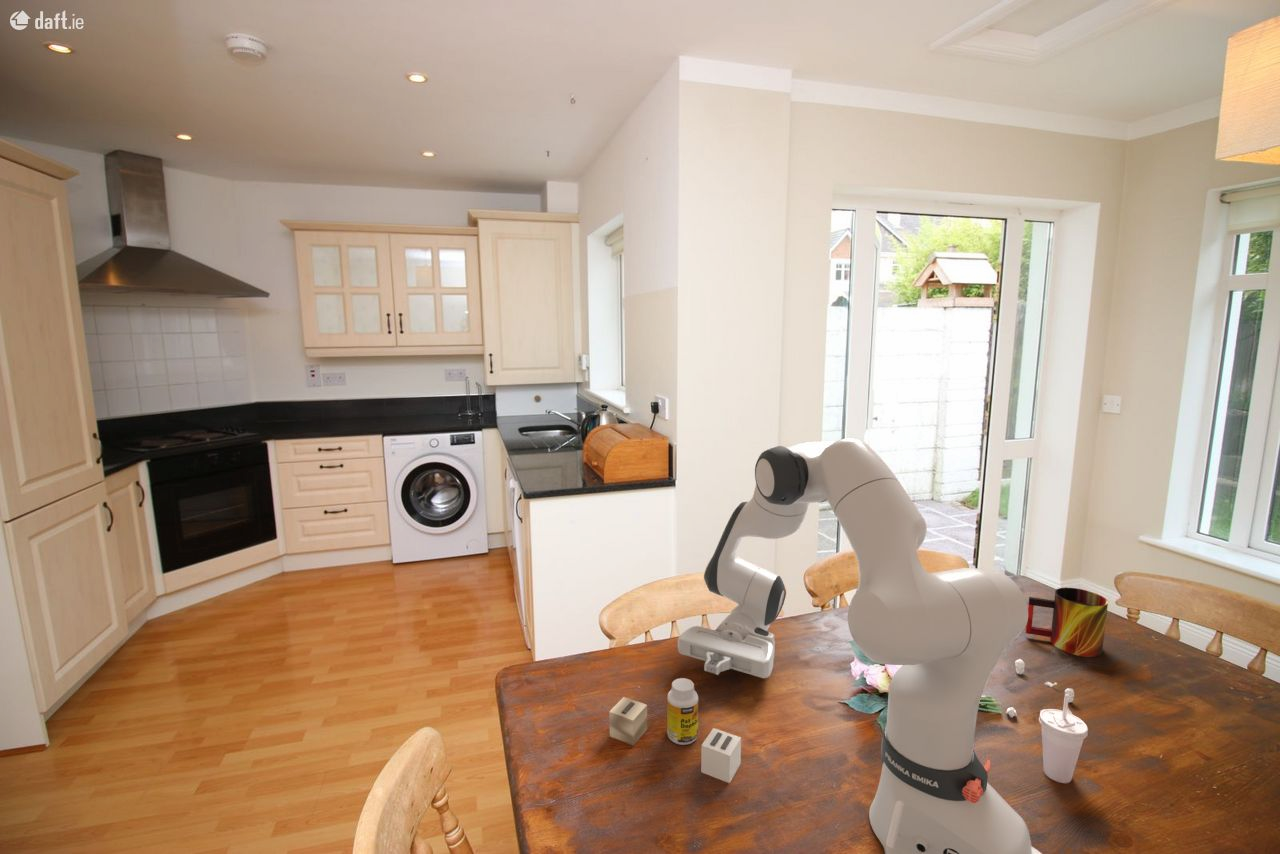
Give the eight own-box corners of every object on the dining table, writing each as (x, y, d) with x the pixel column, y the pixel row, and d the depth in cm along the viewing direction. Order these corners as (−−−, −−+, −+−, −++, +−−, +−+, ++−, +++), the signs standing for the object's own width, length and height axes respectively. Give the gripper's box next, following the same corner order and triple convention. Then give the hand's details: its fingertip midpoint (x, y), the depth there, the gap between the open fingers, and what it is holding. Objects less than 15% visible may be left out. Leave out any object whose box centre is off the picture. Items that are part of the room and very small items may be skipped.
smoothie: (1085, 774, 96) (1094, 696, 94) (1077, 796, 91) (1087, 714, 89) (1039, 754, 100) (1047, 679, 98) (1029, 774, 96) (1037, 696, 94)
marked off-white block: (740, 764, 99) (741, 736, 98) (729, 783, 95) (729, 754, 94) (713, 754, 102) (713, 726, 101) (701, 772, 97) (701, 744, 96)
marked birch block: (647, 729, 108) (646, 703, 107) (633, 746, 104) (633, 719, 103) (624, 720, 110) (623, 695, 110) (609, 736, 106) (609, 710, 105)
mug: (1022, 636, 139) (1027, 588, 138) (1079, 634, 140) (1085, 586, 138) (1052, 658, 130) (1058, 607, 128) (1113, 656, 130) (1119, 605, 128)
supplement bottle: (679, 751, 102) (679, 697, 101) (661, 733, 107) (660, 681, 105) (704, 738, 105) (704, 686, 104) (685, 722, 110) (685, 671, 108)
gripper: (692, 613, 133) (664, 641, 121) (781, 636, 123) (760, 669, 111) (692, 639, 134) (664, 669, 122) (780, 664, 124) (759, 699, 112)
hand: (710, 669), depth 117 cm, fingers closed
